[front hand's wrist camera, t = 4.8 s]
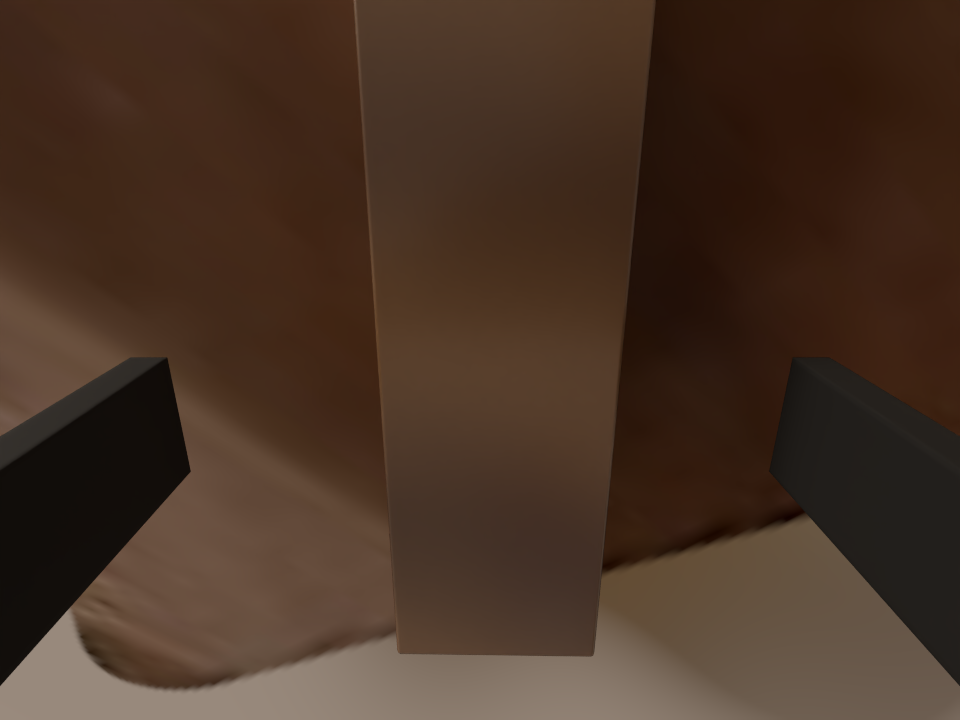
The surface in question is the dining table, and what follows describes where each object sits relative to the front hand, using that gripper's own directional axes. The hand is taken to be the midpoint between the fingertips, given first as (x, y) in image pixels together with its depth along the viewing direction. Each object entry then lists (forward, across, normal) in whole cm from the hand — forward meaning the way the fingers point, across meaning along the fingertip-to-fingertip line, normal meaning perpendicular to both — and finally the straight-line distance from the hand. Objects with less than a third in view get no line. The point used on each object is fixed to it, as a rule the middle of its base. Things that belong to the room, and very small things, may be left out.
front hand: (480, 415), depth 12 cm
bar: (+7, 0, -30) cm, 31 cm away
